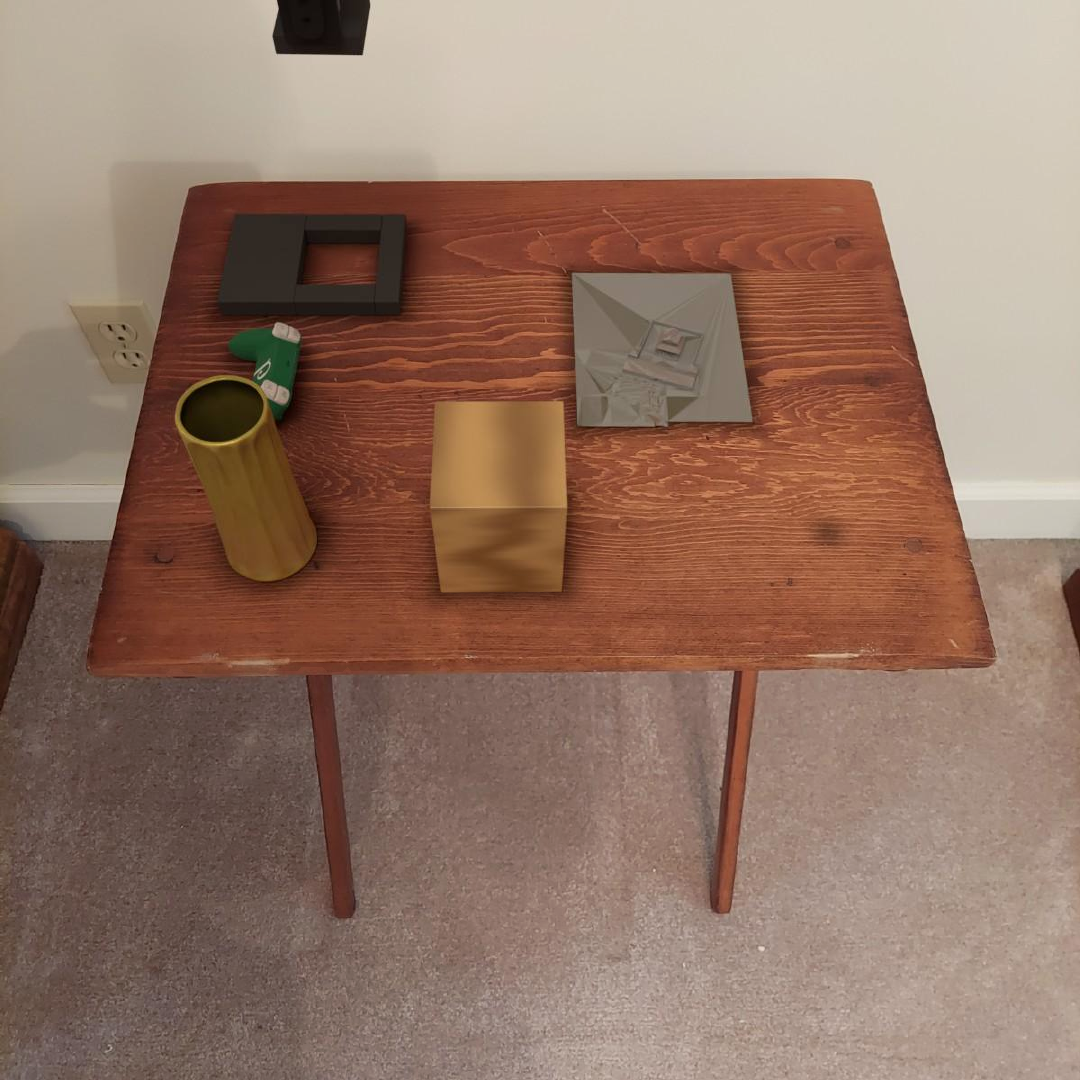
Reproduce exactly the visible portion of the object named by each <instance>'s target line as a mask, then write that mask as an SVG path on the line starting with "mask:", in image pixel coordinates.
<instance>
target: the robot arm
mask: <svg viewBox="0 0 1080 1080" xmlns="http://www.w3.org/2000/svg"><path fill="white" fill-rule="evenodd" d="M276 3H277V4H276V5H277V8H278V9H279V14H280V19H281V24H282V29H283V33H284V38H285V41H286V42H287V43H288V44H290V45H330V46H336V45H339V44H340V43H341V42H342V36H343V33H342V26H341V20H340V13H339V7H338V0H276Z"/></svg>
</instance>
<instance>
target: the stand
mask: <svg viewBox="0 0 1080 1080" xmlns="http://www.w3.org/2000/svg"><path fill="white" fill-rule="evenodd" d="M433 409H434V411H433V429H432V449H431V451H432V452H431V471H430V491H429V492H430V493H429V513H430V520H431V528H432V536H433V543H434V550H435V559H436V566H437V574H438V582H439V589H440V590H439V591H440V593H555V592H556V593H561V592H562V591H563V582H564V567H565V566H564V565H565V551H566V536H567V533H566V532H567V521H568V520H567V518H568V488H567V487H568V486H567V456H566V455H567V453H566V432H565V431H566V427H565V403H564V400H563V401H562V400H549V401H548V400H540V401H538V400H532V401H531V400H529V401H525V400H523V401H521V400H520V401H519V400H518V401H515V400H513V401H512V400H511V401H508V400H505V401H503V400H501V401H500V400H499V401H495V400H493V401H492V400H491V401H490V400H489V401H486V400H485V401H484V400H483V401H481V400H480V401H475V400H474V401H434V408H433Z"/></svg>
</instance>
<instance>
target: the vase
mask: <svg viewBox="0 0 1080 1080" xmlns="http://www.w3.org/2000/svg"><path fill="white" fill-rule="evenodd" d="M174 423H175V427H176V429H177V431H178V434H179V436H180V438H181V440H182V443H183V444H184V447H185V448H186V451H187V453H188V455H189V458H190V460H191V463H192V465H193V466H194V469H195V472H196V474H197V476H198V478H199V480H200V483H201V485H202V488H203V489H204V492H205V495H206V498H207V501H208V504H209V508H210V510H211V513H212V517H213V519H214V522H215V526H216V528H217V532H218V533H219V536H220V539H221V542H222V545H223V548H224V553H225V556H226V559H227V561H228V563H229V565H230V567H231V568H232V569H233V570H234V571H235V572H237V573H238V574H239V575H241V576H243V577H245V578H247V579H250V580H253V581H255V582H256V581H257V582H275V581H280V580H284V579H287V578H289V577H290V576H291V577H292V575H293V576H294V574H296V573H297V572H299V571H300V570H302V569H303V568H304V567H305V566H306V565H307V564H308V563H309V562H310V560H311V559H312V557H313V555H314V553H315V551H316V548H317V543H318V534H317V529H316V526H315V524H314V522H313V520H312V518H311V517H310V515H309V510H308V507H307V506H306V503H305V500H304V498H303V496H302V493H301V490H300V489H299V486H298V483H297V481H296V478H295V477H294V473H293V471H292V468H291V465H290V463H289V460H288V457H287V454H286V451H285V448H284V445H283V442H282V439H281V436H280V434H279V431H278V428H277V425H276V420H275V421H274V418H273V414H272V411H271V408H270V406H269V402H268V400H267V397H266V395H265V393H264V391H263V390H262V388H261V387H260V386H259V385H258V384H256V383H255V382H253V380H251V379H249V378H245V377H242V376H238V375H233V374H219V375H215V376H210V377H207V378H205V379H203V380H200V381H198V382H196V383H194V384H192V385H191V386H190V387H188V388H187V389H186V390H185V392H184V393H183V394H182V395H181V396H180V398H179V400H178V401H177V403H176V406H175V413H174Z"/></svg>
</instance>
